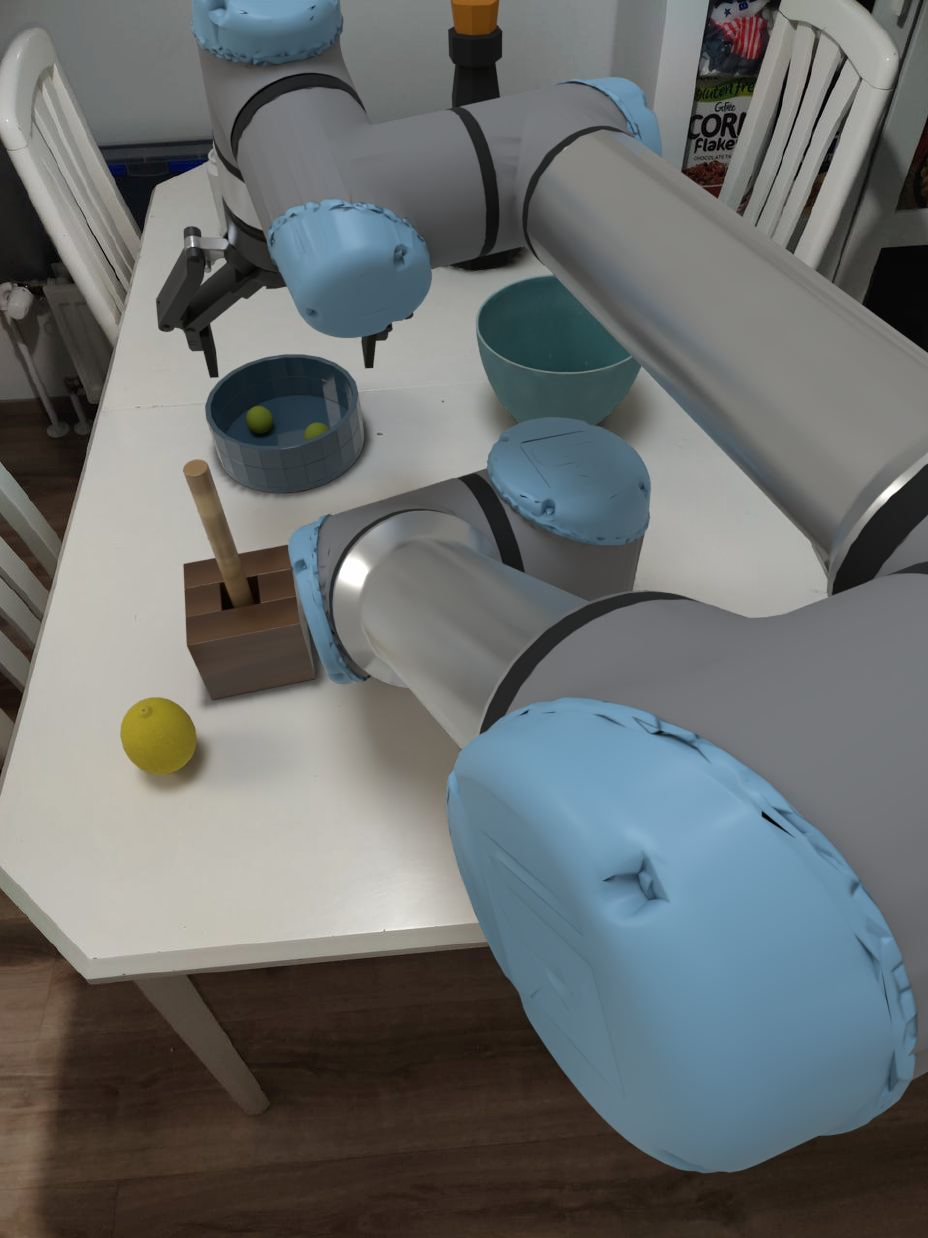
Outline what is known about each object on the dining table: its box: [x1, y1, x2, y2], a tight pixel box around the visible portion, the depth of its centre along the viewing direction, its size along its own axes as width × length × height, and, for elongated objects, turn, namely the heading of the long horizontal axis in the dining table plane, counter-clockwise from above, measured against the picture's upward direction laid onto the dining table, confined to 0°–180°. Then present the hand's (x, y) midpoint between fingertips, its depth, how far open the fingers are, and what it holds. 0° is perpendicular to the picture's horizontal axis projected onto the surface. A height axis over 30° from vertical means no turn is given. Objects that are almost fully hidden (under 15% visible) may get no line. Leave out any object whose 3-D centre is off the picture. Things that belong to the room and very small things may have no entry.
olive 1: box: [246, 406, 273, 434], centre depth 96 cm, size 3×3×3 cm
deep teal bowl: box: [475, 273, 642, 426], centre depth 94 cm, size 18×18×12 cm
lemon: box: [119, 696, 198, 776], centre depth 69 cm, size 6×6×8 cm
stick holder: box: [182, 544, 316, 700], centre depth 76 cm, size 9×9×8 cm
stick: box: [182, 459, 255, 608], centre depth 71 cm, size 2×2×22 cm
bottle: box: [447, 0, 523, 272], centre depth 110 cm, size 16×16×30 cm
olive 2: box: [304, 422, 329, 440], centre depth 94 cm, size 3×3×3 cm
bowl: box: [204, 353, 365, 494], centre depth 95 cm, size 16×16×6 cm
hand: (291, 359), depth 78 cm, fingers open, 13 cm apart
